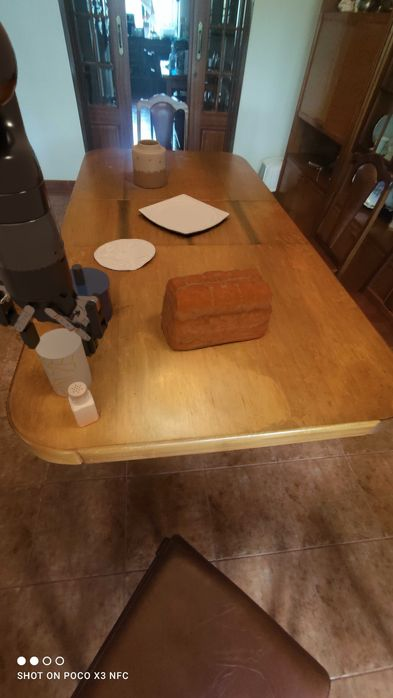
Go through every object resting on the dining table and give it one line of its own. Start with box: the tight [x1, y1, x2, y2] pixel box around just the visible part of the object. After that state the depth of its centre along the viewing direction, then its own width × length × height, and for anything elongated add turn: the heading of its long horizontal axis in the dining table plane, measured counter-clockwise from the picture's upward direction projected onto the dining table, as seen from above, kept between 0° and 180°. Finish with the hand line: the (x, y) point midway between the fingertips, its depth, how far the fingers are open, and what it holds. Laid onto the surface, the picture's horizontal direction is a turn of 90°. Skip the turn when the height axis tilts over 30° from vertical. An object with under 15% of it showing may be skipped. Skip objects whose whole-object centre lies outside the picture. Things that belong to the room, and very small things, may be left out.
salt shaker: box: [67, 382, 100, 428], centre depth 60 cm, size 4×4×10 cm
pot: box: [69, 287, 114, 329], centre depth 81 cm, size 13×13×10 cm
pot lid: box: [70, 263, 111, 297], centre depth 76 cm, size 14×14×6 cm
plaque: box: [93, 238, 156, 271], centre depth 105 cm, size 20×20×2 cm
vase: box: [131, 138, 167, 190], centre depth 145 cm, size 15×15×17 cm
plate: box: [138, 193, 230, 236], centre depth 126 cm, size 29×29×3 cm
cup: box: [35, 327, 93, 398], centre depth 64 cm, size 8×8×12 cm
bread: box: [160, 268, 274, 351], centre depth 78 cm, size 14×27×15 cm, turn 106°
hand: (63, 349), depth 47 cm, fingers open, 8 cm apart
